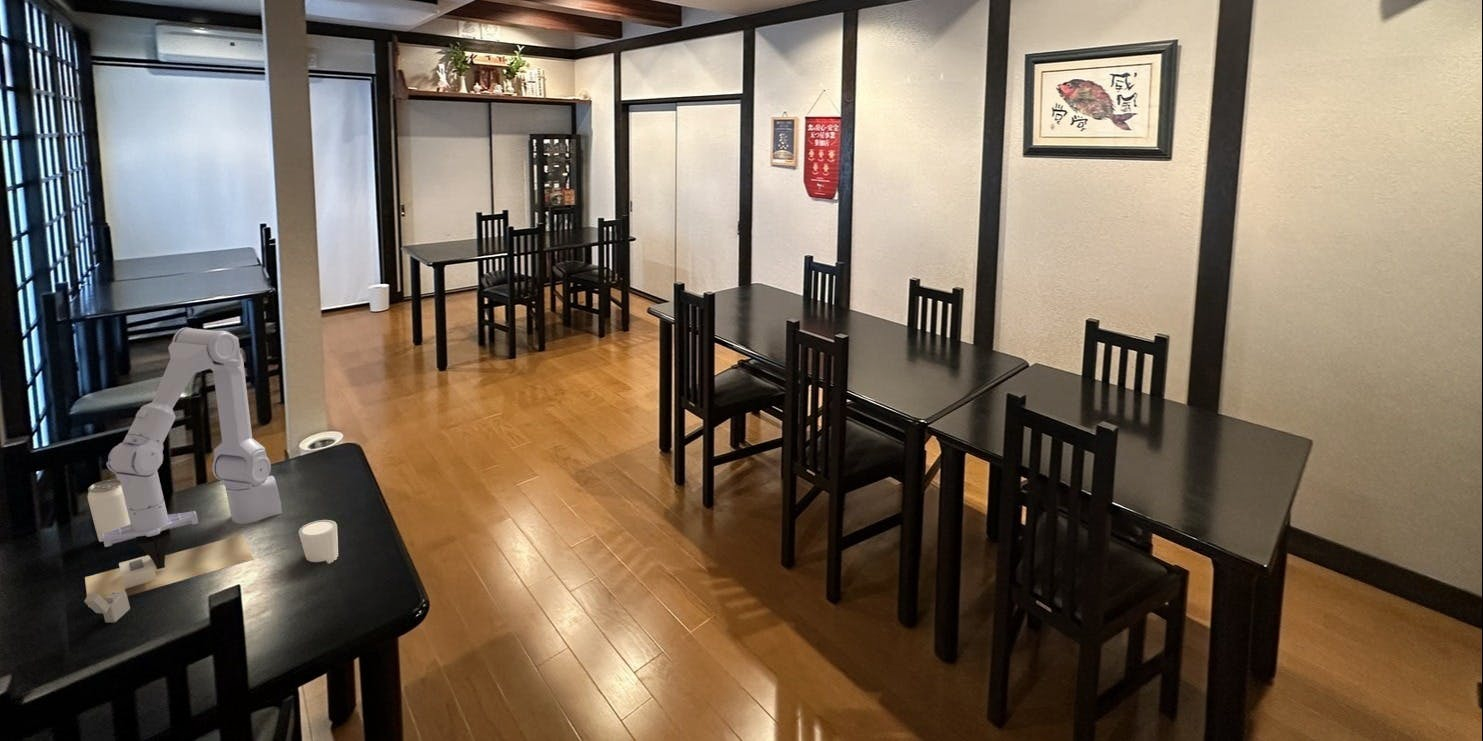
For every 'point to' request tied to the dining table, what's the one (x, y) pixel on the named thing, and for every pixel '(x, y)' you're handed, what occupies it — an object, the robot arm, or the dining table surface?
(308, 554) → the white cup
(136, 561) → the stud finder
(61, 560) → the dining table surface
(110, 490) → the can
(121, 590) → the board
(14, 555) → the dining table surface
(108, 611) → the lighter
